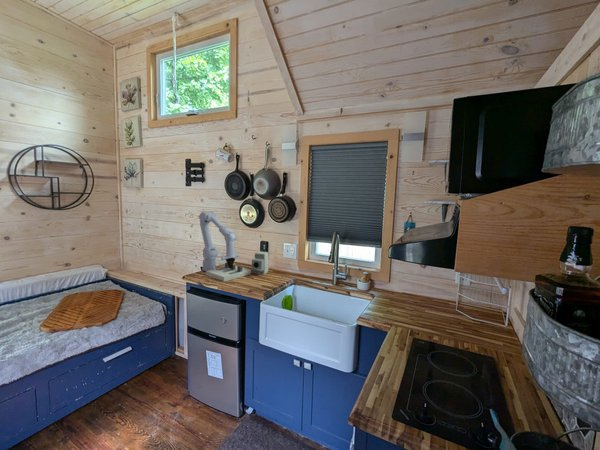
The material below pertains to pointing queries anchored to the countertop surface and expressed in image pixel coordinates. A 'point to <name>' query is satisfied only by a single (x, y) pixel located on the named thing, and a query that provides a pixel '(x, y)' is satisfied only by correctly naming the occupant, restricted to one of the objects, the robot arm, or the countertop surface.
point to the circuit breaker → (260, 262)
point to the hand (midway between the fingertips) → (230, 268)
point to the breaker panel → (228, 273)
